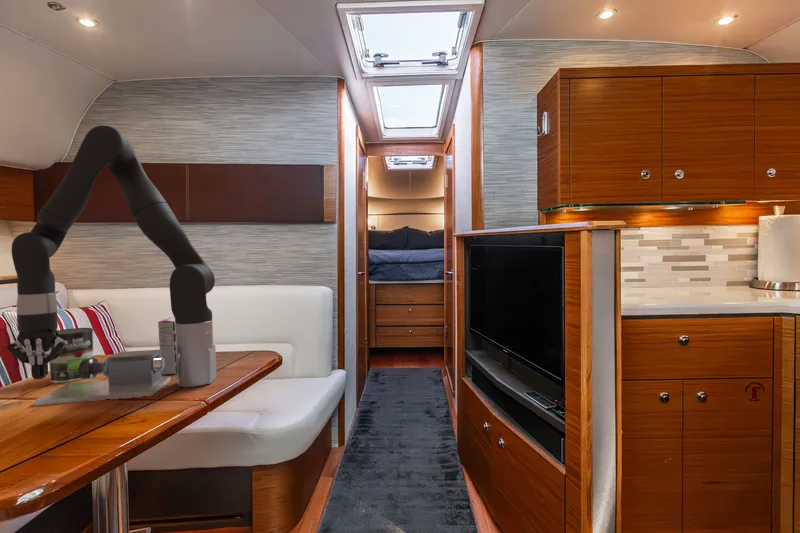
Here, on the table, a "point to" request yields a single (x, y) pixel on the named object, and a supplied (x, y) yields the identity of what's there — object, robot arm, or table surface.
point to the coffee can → (71, 355)
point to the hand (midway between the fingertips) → (39, 378)
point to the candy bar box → (168, 345)
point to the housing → (114, 381)
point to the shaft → (93, 367)
